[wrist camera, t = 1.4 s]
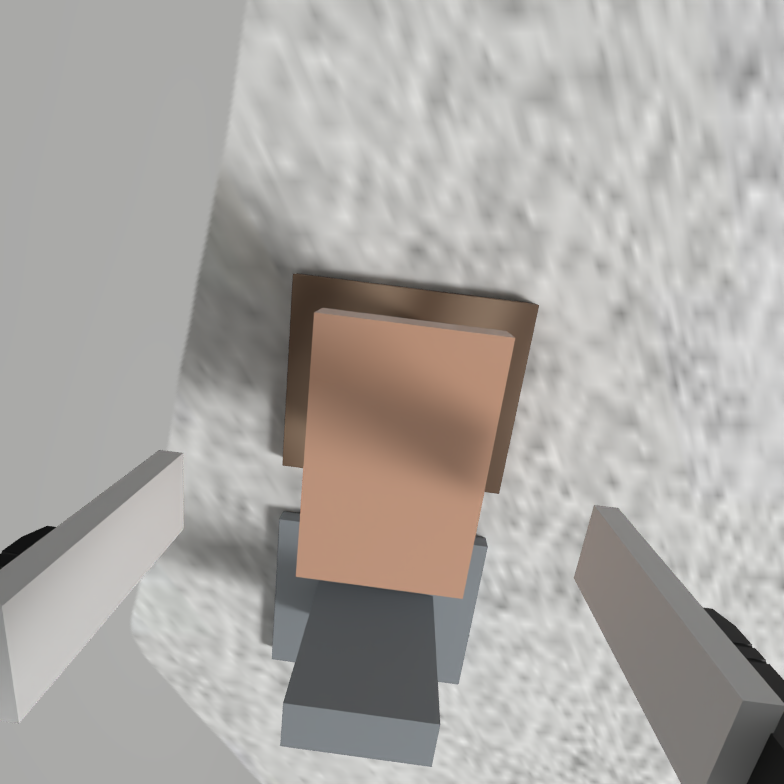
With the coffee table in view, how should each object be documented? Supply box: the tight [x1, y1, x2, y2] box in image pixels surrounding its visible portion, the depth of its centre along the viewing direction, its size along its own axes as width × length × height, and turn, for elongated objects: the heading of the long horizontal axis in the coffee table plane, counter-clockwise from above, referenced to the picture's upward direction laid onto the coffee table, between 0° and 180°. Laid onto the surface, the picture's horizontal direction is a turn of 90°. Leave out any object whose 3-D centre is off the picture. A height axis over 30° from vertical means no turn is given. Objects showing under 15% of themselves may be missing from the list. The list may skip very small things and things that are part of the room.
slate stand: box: [272, 511, 488, 767], centre depth 28 cm, size 14×12×10 cm
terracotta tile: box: [296, 308, 515, 599], centre depth 18 cm, size 7×11×2 cm, turn 173°
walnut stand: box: [283, 273, 539, 494], centre depth 23 cm, size 14×12×10 cm
